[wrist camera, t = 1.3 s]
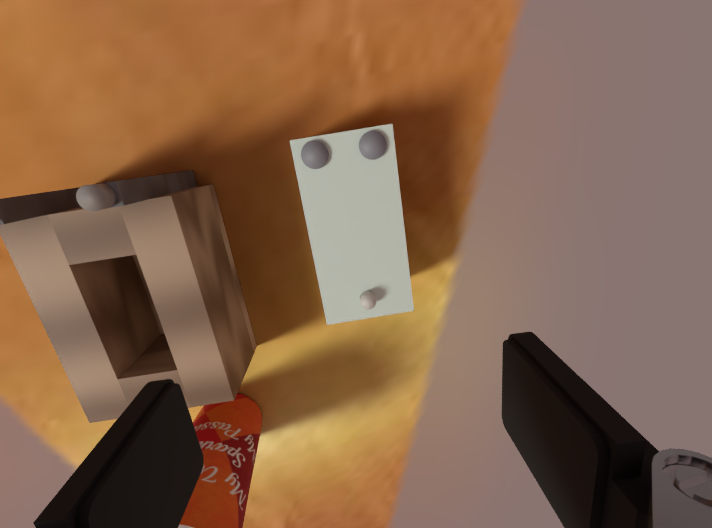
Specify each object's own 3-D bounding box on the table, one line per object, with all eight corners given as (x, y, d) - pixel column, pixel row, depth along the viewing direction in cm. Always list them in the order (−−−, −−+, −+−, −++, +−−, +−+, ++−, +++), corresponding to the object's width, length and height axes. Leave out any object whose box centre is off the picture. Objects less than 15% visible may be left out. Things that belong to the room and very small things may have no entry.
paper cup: (284, 395, 33) (247, 566, 19) (260, 457, 35) (211, 650, 21) (199, 371, 31) (97, 534, 18) (179, 437, 33) (74, 627, 20)
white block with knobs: (300, 142, 26) (287, 140, 20) (380, 129, 26) (394, 122, 20) (329, 291, 30) (326, 330, 23) (399, 279, 30) (416, 315, 23)
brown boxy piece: (74, 188, 26) (-89, 212, 16) (208, 167, 26) (128, 178, 16) (143, 363, 31) (49, 466, 21) (256, 346, 31) (217, 440, 21)
